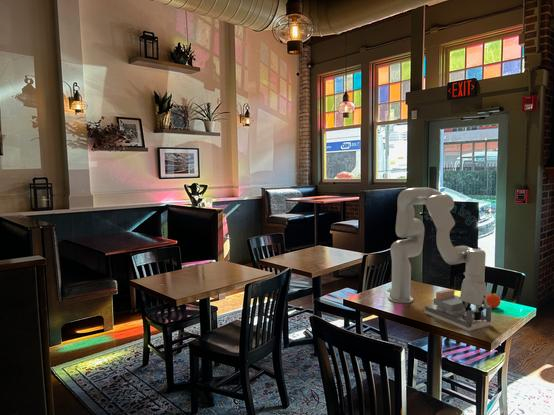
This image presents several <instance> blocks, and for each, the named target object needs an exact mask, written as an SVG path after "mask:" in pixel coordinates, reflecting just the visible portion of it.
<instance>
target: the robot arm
mask: <svg viewBox="0 0 554 415" xmlns="http://www.w3.org/2000/svg"><path fill="white" fill-rule="evenodd" d="M417 205H425V207H426V209H427V211H428V214H429V216H430V217H431V220H432V222H433V223H434V227H435V229H436V236H435V237H436V240H435V241H436V247H437V250H438V252H439V254H440V256H441V257H442V259H443V260H444V261H445V263H447V264H448V265H459V264H463V263H465V271H464V272H463V275H464V277H465V278H463V280H462V281H461V282H462V283H461V287H460V295H459V299H460V300H461V301H462V303H463V304H464V307H465V312H467V311H469V310H470V311H471V310H473V309H472V307H471V306H472V305H473V306H475V309H476V312H475V318H474V320H475V321H478V320H480V319H481V311H483V312H484V310H486V308H489V306H488V304H487V302H486V301H487V295H488V292H487V284H486V283H487V282H485V272H486V271H485V270H486V252H485V250H482V249H480V248H472V247H470V246H468V245H458V246H457V245H456V246H454V245H453V242H452V240H451V238H450V233H451V231H452V229H453V228H454V226H455V225H456V221H455V219H454V217H453V215H452V213H451V211H452V210H453V209H454V207H455V201H454V199H453V197H452V196H451V195H449V194H448V193H446V192H442V191H440V190H437V189H435V188H431V187H411V188H406V189H404V190H402V191H400V193H399V194H398V196H397V212H396V220H395V221H396V222H395V234H396V236H397V237H398V238H401V239H397V240H396V241H394V242H393V243H392V244H391V246H390V248H389V250H390V256H391V287H389V288H388V289H387V290H386V291H387V292H388V293H389V294H388V296H387V299H388V300H389V301H390V302H394V303H398V304H410V303H412V302H413V301H414V297H412V295H411V286H412V285H411V284H412V283H411V281H412V280H411V278H412V265H411V262H410V260H409V258H413V257H417V256H420V254H421V253H422V251H423V247H424V239H425V238H424V237H425V225H424V223H423V221H422V220H421V219H419V218H415V214H416V213H415V208H414V206H417ZM404 238H405V239H404ZM406 238H407V239H406Z"/></svg>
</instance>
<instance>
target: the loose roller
mask: <svg viewBox="0 0 554 415" xmlns="http://www.w3.org/2000/svg"><path fill="white" fill-rule="evenodd" d="M471 311H472V320H474V318H475V312H476V308H475V309H472V310H471ZM484 315H485V313H484V310H483V311H481V318H482V317H483V316H484ZM462 318H463V319H464V320H465V321H466V312H463V313H462Z"/></svg>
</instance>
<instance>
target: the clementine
mask: <svg viewBox="0 0 554 415" xmlns="http://www.w3.org/2000/svg"><path fill="white" fill-rule="evenodd" d="M486 302H487V304H488V306H492V309H495V308H497V307H500V304H501V298H500V296H499V294H497V293H489V294H488V293H487V301H486Z"/></svg>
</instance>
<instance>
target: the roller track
mask: <svg viewBox="0 0 554 415" xmlns="http://www.w3.org/2000/svg"><path fill="white" fill-rule="evenodd" d="M492 309H493V308H492V306H489V308H486V309H485V314H484V316H483V317H482V318H481V319H480V320H478V321H475V320H472V311H470V310H469V311H467V312H466V321H465V320H464V319H463V318H462V313H463V312H465V308H461V309H456V310H452V311H451V310H448V309H446V308H443V307H440V306H438V305H436V307H432V306H429V305H424V314H427V315H428V316H432V317H433V318H436V319H438V320H441V321H442V322H445V323H448V324H451V325H453V326H456V327H458V328H460V329H463V330H465V331H468V332H470V331H473V330H477V329H481V328H485V327H489V326H491V322H492Z"/></svg>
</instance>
